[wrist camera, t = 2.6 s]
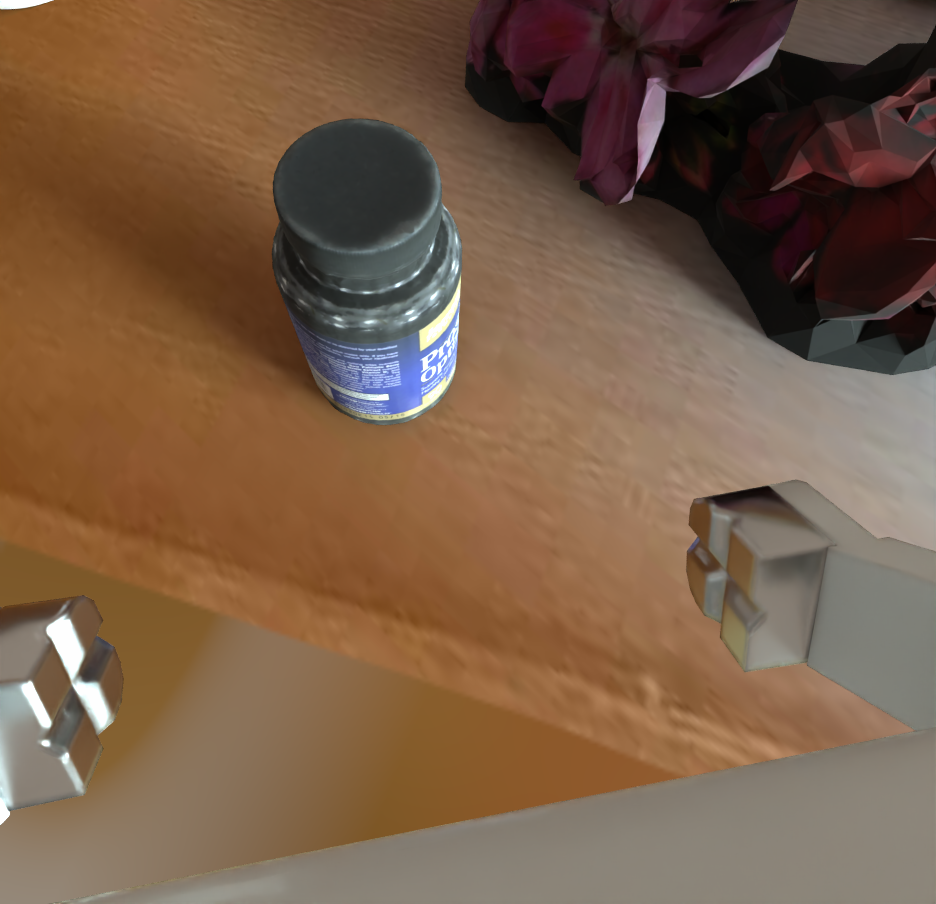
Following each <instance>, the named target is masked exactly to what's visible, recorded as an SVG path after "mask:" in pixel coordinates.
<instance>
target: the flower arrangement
mask: <svg viewBox="0 0 936 904" xmlns="http://www.w3.org/2000/svg"><path fill="white" fill-rule="evenodd" d="M730 1H731V0H480V1H479V3H478V5H477V8H476V10H475V12H474V14H473V16H472V18H471V20H470V42H469V46H468V50H467V55H466V76H465V87H466V89H467V90H468V91H469V93H470V94H471V95H472V97H473V98H474V99H475V101H476V102H477V103H478V105H479V106H480V107H482V108H483V109H485V110H487V111H489V112H491V113H493V114H495V115H496V116H498V117H500V118H502V119H504V120H506V121H508V122H533V123H545V124H546V125H547V126H548V127H549V128H550V129H551V130H552V131H553V132H554V133H555V134H556V135H557V137H558V138H559V139H560V140H561V141H562V142H563V143H564V144H565V145H566V146H567V147H568V148H569V149H570V150H571V151H572V152H573V153H575V154H577V155H579V156H581V160H580V164H579V166H578V169H577V172H576V175H575V177H574V180H580V189H581V190H583V191H584V192H586V193H588V194H589V195H591V196H593V197H594V198H596V199H598V200H599V201H601V202H603V203H604V205H605V206H607V205H615V204H620V203H623V202H626V201H630V200H632V196H633V193H636V194H640V195H644V196H648V197H652V198H656V199H660V200H662V201H664V202H666V203H667V204H669V205H671V206H673V207H675V208H677V209H679V210H680V211H682V212H684V213H686V214H688V215H690V216H691V217H693V218H695V219H697V220H698V221H699V223H700V225H701V227H702V229H703V231H704V233H705V235H706V237H707V239H708V241H709V243H710V244H711V246H712V248H713V249H714V250H715V252H716V253H717V255H718V256H719V257H720V259H721V260H722V262H723V263H724V264H725V266H726V267H727V269H728V270H729V271H730V273H731V274H732V276H733V277H734V278H735V280H736V281H737V283H738V284H739V286H740V288H741V290H742V291H743V293H744V295H745V297H746V299H747V301H748V302H749V304H750V306H751V308H752V310H753V312H754V313H755V315H756V317H757V319H758V321H759V323H760V324H761V326H762V328H763V330H764V332H765V334H766V336H767V337H768V338H769V339H771V340H773V341H775V342H776V343H778V344H780V345H781V346H783V347H785V348H787V349H788V350H790V351H792V352H794V353H795V354H797V355H799V356H800V357H802V358H804V359H806V360H808V361H814V362H820V363H826V364H831V365H837V366H843V367H849V368H855V369H861V370H867V371H873V372H879V373H885V374H890V375H894V374H900V373H906V372H912V371H918V370H924V369H929V368H931V367H933V366H935V365H936V26H935V28H934V30H933V32H932V34H931V36H930V38H929V40H928V41H927V43H907V44H898V45H896V46H895V47H893V48H891V49H890V50H888V51H887V52H885V53H884V54H882V55H881V56H879V57H878V58H876V59H875V60H873V61H872V62H870V63H869V64H867V65H856V64H846V63H836V62H826V61H821V60H817V59H813V58H810V57H806V56H802V55H798V54H794V53H790V52H787V51H783V50H779V46H780V44H781V42H782V40H783V38H784V36H785V34H786V31H787V28H788V26H789V23H790V20H791V18H792V15H793V12H794V10H795V7H796V4H797V2H798V0H740V1H736V2H732V3H730Z"/></svg>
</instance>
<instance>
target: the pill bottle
mask: <svg viewBox="0 0 936 904" xmlns="http://www.w3.org/2000/svg"><path fill="white" fill-rule="evenodd" d="M273 195H274V202H275V206H276V209H277V213H278V216H279V220H280V222H279V225H278V227H277V230H276V233H275V236H274V242H273V248H272V260H273V262H272V263H273V264H272V265H273V270H274V275H275V279H276V282H277V285H278V287H279V290H280V293H281V295H282V298H283V300H284V302H285V305H286V307H287V310H288V313H289V315H290V318H291V320H292V323H293V325H294V328H295V330H296V333H297V336H298V338H299V341H300V343H301V346H302V349H303V351H304V354H305V356H306V359H307V361H308V364H309V366H310V369H311V371H312V374H313V376H314V379H315V382H316V384H317V386H318V387H319V389H320V390H321V392H322V393H323V395H324V396H325V397H326V399H327V400H328V401H329V402H330V403H331V404H332V406H333V407H334V408H335V409H337V410H338V411H340V412H342V413H344V414H346V415H348V416H350V417H352V418H353V419H356V420H359V421H361V422H365V423H371V424H376V425H391V424H398V423H404V422H407V421H409V420H411V419H414V418H416V417H419V416H420V415H422V414H423V413H425V412H426V411H428V410H429V409H431V408H432V407H433V406H435V405H436V404H437V403H438V402H439V401H440V400H441V399H442V398H443V396H444V394H445V393H446V391H447V390H448V388H449V387H450V384H451V382H452V379H453V376H454V373H455V369H456V355H457V340H458V324H459V305H460V284H461V270H462V245H461V239H460V236H459V232H458V228H457V226H456V224H455V223H454V220H453V218H452V216H451V214H450V213H449V212H448V210H447V209H446V208H445V207H444V205H443V204H442V201H441V198H442V186H441V179H440V174H439V170H438V167H437V164H436V162H435V161H434V159H433V156H432V155H431V153H430V152H429V151H428V150H427V148H426V147H425V146H424V145H423V143H422V142H421V141H418V140H417V139H416V138H415V137H414V136H413V135H412V134H410V133H408V132H407V131H406V130H404V129H402V128H400V127H397V126H394V125H393V124H389V123H386V122H383V121H379V120H371V119H345V120H338V121H334V122H330V123H327V124H324V125H321V126H319V127H316V128H314V129H312V130H311V131H309V132H307V133H305V134H304V135H302V136H301V137H300V138H298V140H296V141H295V142H294V143H293V144H292V145H291V146H290V147H289V148H288V149H287V150H286V152H285V154H284V155H283V157H282V158H281V160H280V161H279V163H278V166H277V168H276V171H275V174H274V180H273Z"/></svg>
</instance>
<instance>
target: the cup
mask: <svg viewBox="0 0 936 904" xmlns="http://www.w3.org/2000/svg"><path fill="white" fill-rule="evenodd" d="M50 1H52V0H0V9H19V8H27V7H32V6H36V5H40V4H43V3H47V2H50Z"/></svg>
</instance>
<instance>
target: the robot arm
mask: <svg viewBox="0 0 936 904" xmlns="http://www.w3.org/2000/svg"><path fill="white" fill-rule="evenodd" d="M689 526H690V527H691V528H692V530H693V531H694V532H695V533H696V534H697V536H698V537H697V539H696V540H695V541H694V543H693V544H692V545H691V546H690V548H689V549H688V550H687V566H686V572H687V577H688V581H689V586H690V590H691V593H692V595H693V597H694V599H695V602H696V604H697V605H698V607H699V608H700V610H701V611H702V613H703V614H704V615H705V616H707V617H709V618H711V619H713V620H715V621H717V622H719V623H721V631H720V638H721V640H722V641H723V642H724V644H725V645H726V647H727V648H728V649H729V651H730V652H731V653H732V655H733V656H734V658H735V659H736V660H737V662H738V663H739V665H740V666H741V667H742V669H743V670H744V672H749V671H755V670H762V669H768V668H774V667H781V666H787V665H794V664H800V663H806V662H807V666H809V667H810V668H812V669H814V670H815V671H817V672H819V673H820V674H822V675H824V676H825V677H827V678H829V679H830V680H832V681H834V682H835V683H837V684H839V685H841V686H842V687H844V688H846V689H847V690H849V691H851V692H852V693H854V694H856V695H857V696H859V697H861V698H862V699H864V700H866V701H867V702H869V703H871V704H872V705H874V706H876V707H877V708H879V709H881V710H882V711H884V712H886V713H887V714H889V715H891V716H892V717H894V718H896V719H897V720H899V721H901V722H902V723H904V724H906V725H907V726H909V727H911V728H912V729H914V730H916V731H913V732H908V733H903V734H899V735H894V736H889V737H884V738H879V739H874V740H869V741H864V742H859V743H854V744H849V745H844V746H839V747H834V748H829V749H824V750H819V751H815V752H810V753H805V754H800V755H795V756H790V757H785V758H780V759H775V760H770V761H765V762H760V763H754V764H749V765H744V766H739V767H734V768H729V769H724V770H719V771H714V772H709V773H704V774H699V775H694V776H689V777H684V778H679V779H673V780H669V781H663V782H658V783H653V784H648V785H643V786H638V787H633V788H628V789H623V790H618V791H613V792H608V793H603V794H597V795H592V796H587V797H582V798H577V799H572V800H567V801H562V802H557V803H552V804H547V805H542V806H537V807H532V808H527V809H522V810H517V811H512V812H507V813H502V814H497V815H492V816H487V817H482V818H477V819H472V820H467V821H462V822H457V823H452V824H447V825H442V826H437V827H432V828H427V829H422V830H417V831H412V832H407V833H402V834H397V835H392V836H387V837H382V838H377V839H372V840H368V841H362V842H357V843H352V844H347V845H342V846H337V847H332V848H327V849H322V850H317V851H312V852H307V853H302V854H297V855H292V856H287V857H282V858H277V859H272V860H267V861H262V862H257V863H252V864H247V865H242V866H237V867H232V868H227V869H222V870H217V871H212V872H207V873H202V874H197V875H192V876H187V877H182V878H177V879H172V880H167V881H162V882H157V883H152V884H147V885H142V886H137V887H132V888H127V889H122V890H117V891H112V892H107V893H102V894H97V895H91V896H87V897H82V898H76V899H71V900H66V901H61V902H57V903H52V904H936V552H935V551H932V550H929V549H926V548H922V547H919V546H916V545H913V544H909V543H906V542H903V541H900V540H896V539H893V538H890V537H886V538H880V539H877V538H876V537H874V536H873V535H872V534H871V533H869V532H868V531H867V530H866V529H864V528H863V527H862V526H861V525H859V524H858V523H857V522H856V521H854V520H853V519H852V518H851V517H849V516H848V515H847V514H846V513H844V512H843V511H842V510H840V509H839V508H838V507H837V506H835V505H834V504H833V503H832V502H830V501H829V500H828V499H827V498H825V497H824V496H823V495H822V494H820V493H819V492H818V491H817V490H815V489H814V488H813V487H811V486H810V485H809V484H808V483H806V482H803V481H800V480H791V481H786V482H781V483H776V484H771V485H766V486H762V487H758V488H752V489H747V490H741V491H736V492H730V493H725V494H719V495H713V496H708V497H702V498H697V499H694V500H693V503H692V505H691V508H690V515H689ZM102 622H103V619H102V617H101V615H100V613H99V611H98V609H97V606H96V604H95V602H94V600H92V599H90V598H88V597H86V596H84V595H82V596H75V597H68V598H61V599H54V600H47V601H39V602H32V603H25V604H18V605H11V606H5V607H3V608H2V607H0V824H1V823H2V822H3V821H4V820H5V819H6V818H7V817H8V816H9V814H10V813H9V811H11V810H16V809H20V808H25V807H30V806H34V805H39V804H43V803H48V802H53V801H57V800H62V799H67V798H72V797H77V796H81V795H84V794H85V792H86V790H87V788H88V785H89V783H90V780H91V778H92V775H93V773H94V770H95V768H96V765H97V763H98V760H99V758H100V756H101V753H102V751H103V747H102V744H101V742H100V740H99V738H98V736H97V735H98V734H99V733H101V732H102V731H103V730H104V729H105V728H106V727H107V726H108V725H109V724H111V723H112V722H113V721H114V720H115V718H116V715H117V713H118V710H119V706H120V704H121V701H122V691H123V690H122V689H123V673H122V668H121V662H120V660H119V657H118V654H117V652H116V649H115V647H114V646H112V645H110V644H109V643H108V642H106V641H104V640H103V639H101V638H100V637H98V636H97V633H98V631H99V629H100V626H101V624H102Z"/></svg>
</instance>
